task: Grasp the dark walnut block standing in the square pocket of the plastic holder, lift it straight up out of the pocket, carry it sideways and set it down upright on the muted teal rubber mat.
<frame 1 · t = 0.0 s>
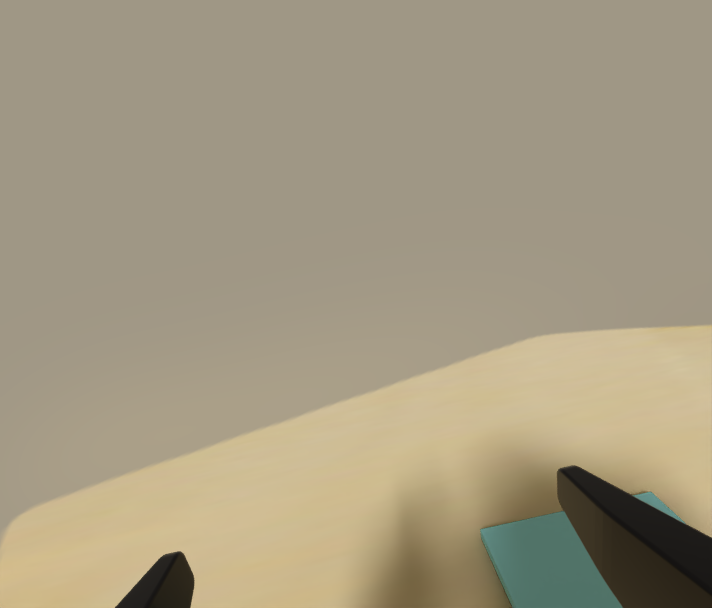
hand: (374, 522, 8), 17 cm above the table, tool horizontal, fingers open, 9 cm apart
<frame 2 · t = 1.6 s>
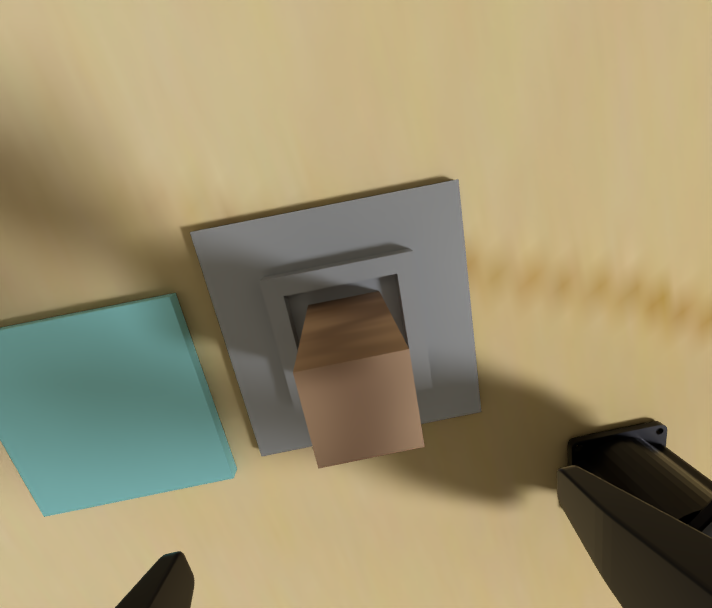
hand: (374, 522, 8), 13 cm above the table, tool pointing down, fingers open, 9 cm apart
holder: (349, 327, 21), on the table
mat: (109, 407, 21), on the table
walnut block: (350, 331, 20), point 1 cm above the table, touching holder
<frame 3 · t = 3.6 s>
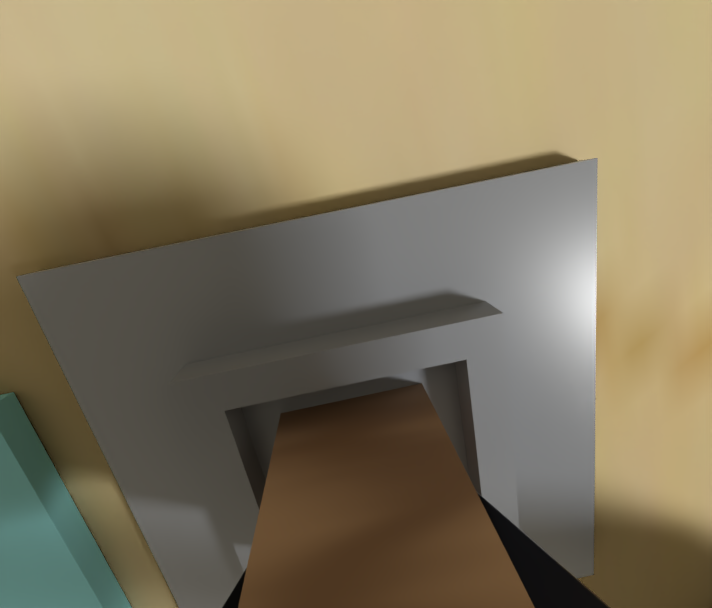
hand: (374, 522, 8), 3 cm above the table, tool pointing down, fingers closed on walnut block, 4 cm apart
holder: (362, 443, 11), on the table
walnut block: (364, 456, 10), point 1 cm above the table, touching gripper, holder
when the fingers open (4 cm above the table, at t = 9.4 s): walnut block drops 1 cm, resting on mat.
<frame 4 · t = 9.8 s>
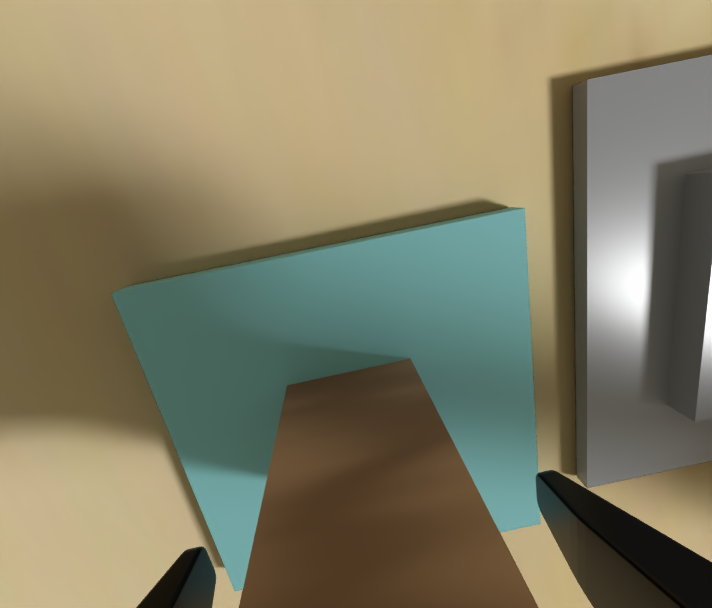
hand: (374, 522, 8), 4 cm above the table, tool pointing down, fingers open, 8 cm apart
mat: (357, 412, 13), on the table
walnut block: (361, 424, 12), point 1 cm above the table, touching mat
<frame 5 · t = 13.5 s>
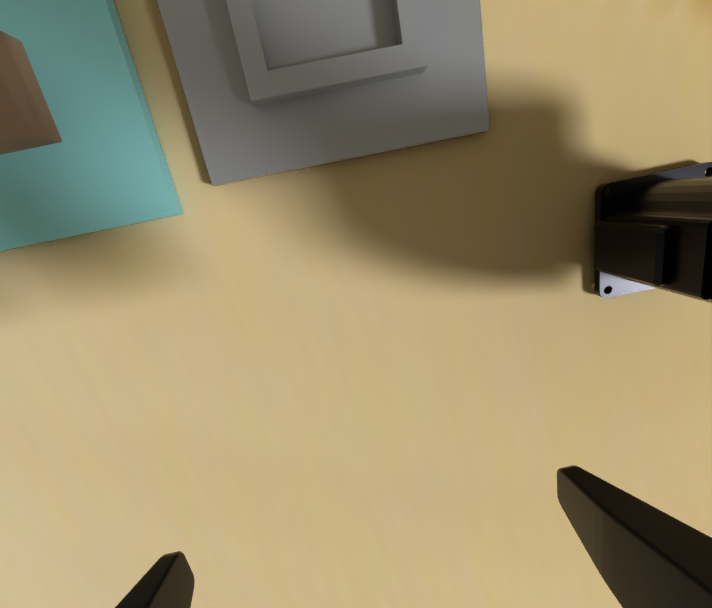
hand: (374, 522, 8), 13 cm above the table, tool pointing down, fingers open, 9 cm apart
mat: (12, 108, 16), on the table
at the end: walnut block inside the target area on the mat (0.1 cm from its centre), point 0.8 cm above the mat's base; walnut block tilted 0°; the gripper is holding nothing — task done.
